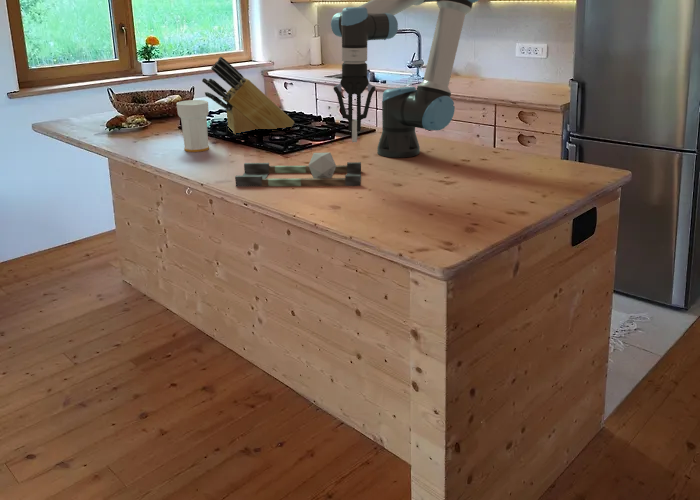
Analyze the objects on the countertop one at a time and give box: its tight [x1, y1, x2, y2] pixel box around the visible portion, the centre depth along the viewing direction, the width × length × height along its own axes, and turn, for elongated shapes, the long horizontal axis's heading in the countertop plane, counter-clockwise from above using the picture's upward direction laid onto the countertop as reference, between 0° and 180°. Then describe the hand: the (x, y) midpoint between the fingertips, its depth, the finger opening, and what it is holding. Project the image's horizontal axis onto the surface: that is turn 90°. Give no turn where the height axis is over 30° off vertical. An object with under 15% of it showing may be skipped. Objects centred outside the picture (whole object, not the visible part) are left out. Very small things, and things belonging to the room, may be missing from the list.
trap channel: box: [234, 161, 362, 187], centre depth 219 cm, size 38×17×3 cm, turn 88°
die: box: [307, 152, 336, 178], centre depth 218 cm, size 8×9×10 cm
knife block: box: [201, 56, 295, 135], centre depth 283 cm, size 11×35×31 cm, turn 113°
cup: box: [176, 99, 210, 153], centre depth 256 cm, size 11×11×17 cm
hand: (354, 141), depth 214 cm, fingers closed
